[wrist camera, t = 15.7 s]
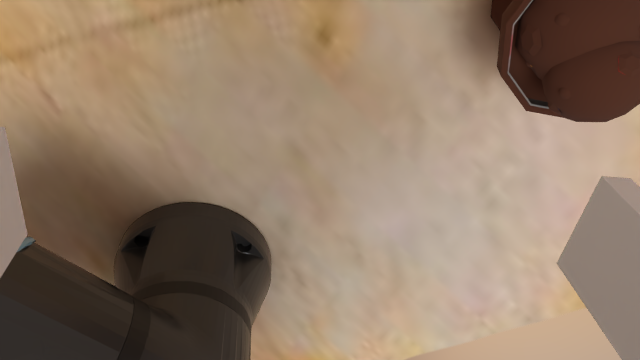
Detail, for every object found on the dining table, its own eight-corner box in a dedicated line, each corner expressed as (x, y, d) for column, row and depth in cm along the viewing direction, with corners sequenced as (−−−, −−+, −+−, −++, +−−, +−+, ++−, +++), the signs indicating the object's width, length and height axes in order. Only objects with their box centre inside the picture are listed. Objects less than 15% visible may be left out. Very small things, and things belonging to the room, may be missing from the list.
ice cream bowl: (603, 33, 43) (741, 112, 30) (473, 87, 44) (552, 183, 32) (587, -101, 37) (749, -71, 24) (439, -33, 39) (519, 27, 26)
